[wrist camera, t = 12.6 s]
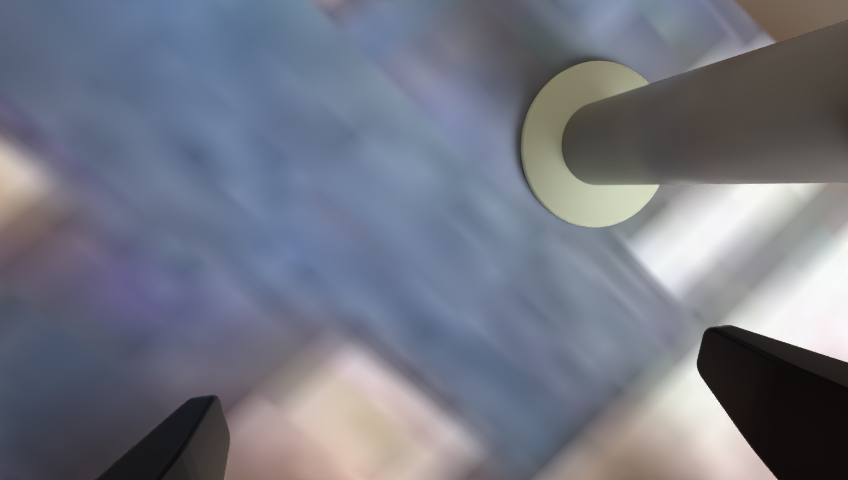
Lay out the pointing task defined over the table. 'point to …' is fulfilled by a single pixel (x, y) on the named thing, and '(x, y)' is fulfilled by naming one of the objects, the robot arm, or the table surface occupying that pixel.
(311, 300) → the table surface
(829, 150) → the plug
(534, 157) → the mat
